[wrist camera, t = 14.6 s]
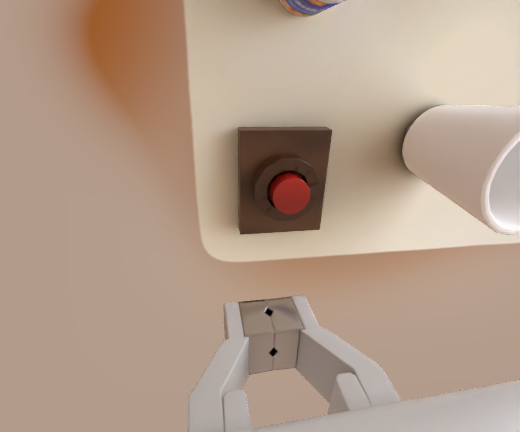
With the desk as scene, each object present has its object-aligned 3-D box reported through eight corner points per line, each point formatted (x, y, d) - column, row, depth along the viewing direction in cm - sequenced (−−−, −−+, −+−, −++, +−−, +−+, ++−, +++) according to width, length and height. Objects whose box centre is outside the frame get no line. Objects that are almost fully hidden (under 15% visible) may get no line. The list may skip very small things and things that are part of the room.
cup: (382, 187, 35) (467, 244, 24) (393, 96, 31) (503, 114, 20) (460, 177, 37) (575, 226, 25) (481, 88, 32) (632, 100, 21)
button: (269, 172, 29) (273, 178, 27) (306, 171, 30) (312, 177, 28) (268, 207, 31) (272, 215, 29) (303, 205, 31) (308, 213, 30)
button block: (237, 127, 30) (242, 134, 27) (326, 126, 31) (339, 133, 28) (238, 227, 34) (242, 243, 31) (314, 222, 36) (325, 237, 33)
